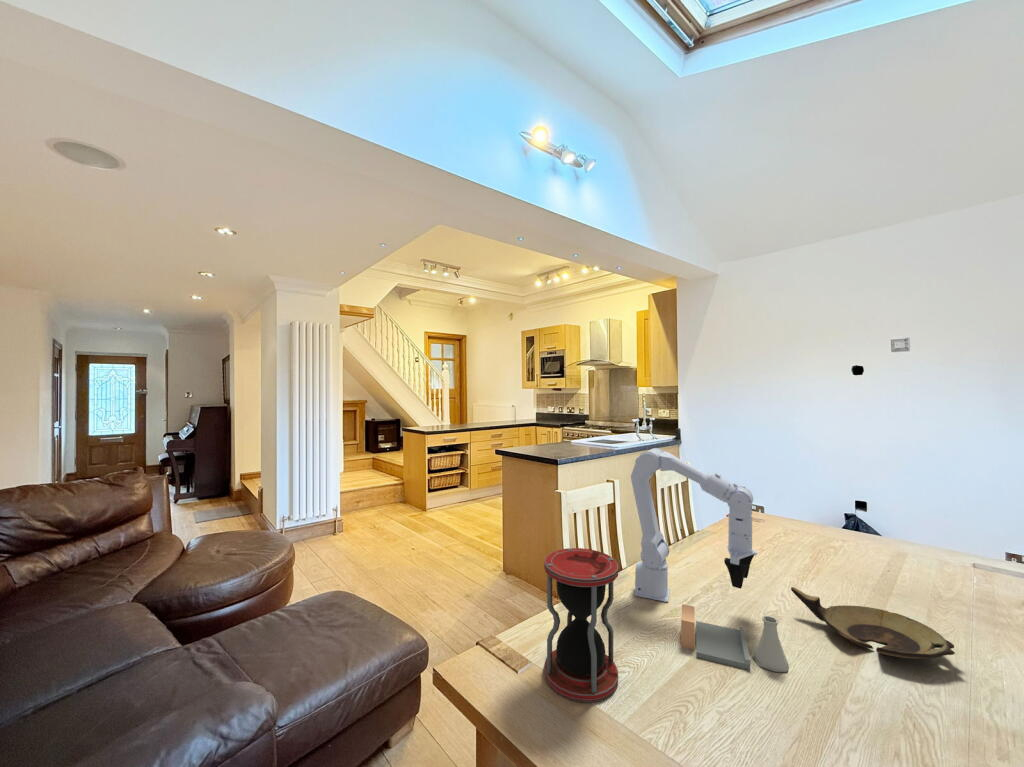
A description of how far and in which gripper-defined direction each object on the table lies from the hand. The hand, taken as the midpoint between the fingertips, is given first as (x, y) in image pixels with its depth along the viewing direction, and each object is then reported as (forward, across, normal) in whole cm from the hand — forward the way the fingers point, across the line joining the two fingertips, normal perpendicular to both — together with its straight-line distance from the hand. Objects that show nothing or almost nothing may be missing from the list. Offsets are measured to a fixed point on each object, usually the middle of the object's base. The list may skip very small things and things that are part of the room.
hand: (739, 581), depth 113 cm
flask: (+10, -16, -9) cm, 21 cm away
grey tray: (+10, -17, +1) cm, 19 cm away
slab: (+10, -19, +8) cm, 23 cm away
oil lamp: (+10, +11, -27) cm, 31 cm away
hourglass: (+10, -48, +22) cm, 54 cm away
